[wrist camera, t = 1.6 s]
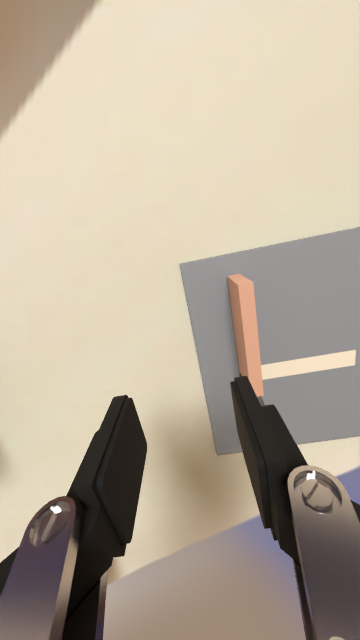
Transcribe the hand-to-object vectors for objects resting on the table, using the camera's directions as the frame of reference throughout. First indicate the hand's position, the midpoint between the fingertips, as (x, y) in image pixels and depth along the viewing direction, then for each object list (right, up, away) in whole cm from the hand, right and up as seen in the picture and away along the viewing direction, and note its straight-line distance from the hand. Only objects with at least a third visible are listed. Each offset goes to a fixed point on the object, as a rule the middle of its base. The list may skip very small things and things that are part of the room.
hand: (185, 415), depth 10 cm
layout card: (+12, 0, +16) cm, 20 cm away
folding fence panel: (+6, +4, +14) cm, 16 cm away
